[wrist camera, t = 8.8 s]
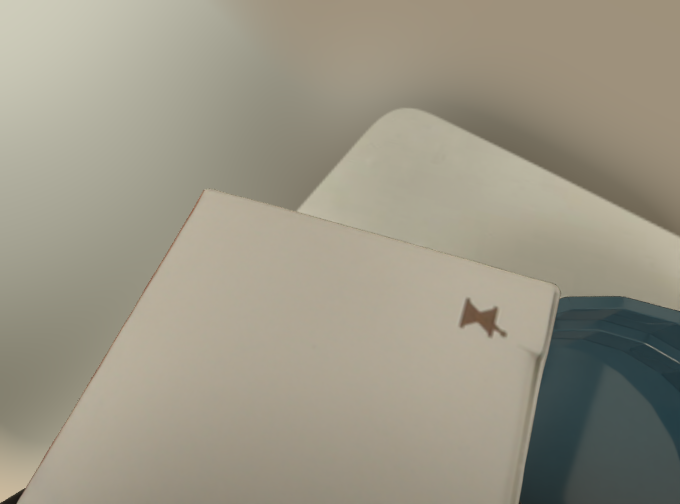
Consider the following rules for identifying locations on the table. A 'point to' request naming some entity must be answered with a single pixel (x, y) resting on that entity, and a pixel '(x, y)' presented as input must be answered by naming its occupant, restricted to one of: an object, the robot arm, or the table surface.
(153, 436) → the small box
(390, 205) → the table surface
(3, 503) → the robot arm
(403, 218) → the table surface
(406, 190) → the table surface
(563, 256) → the table surface
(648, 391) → the bowl
